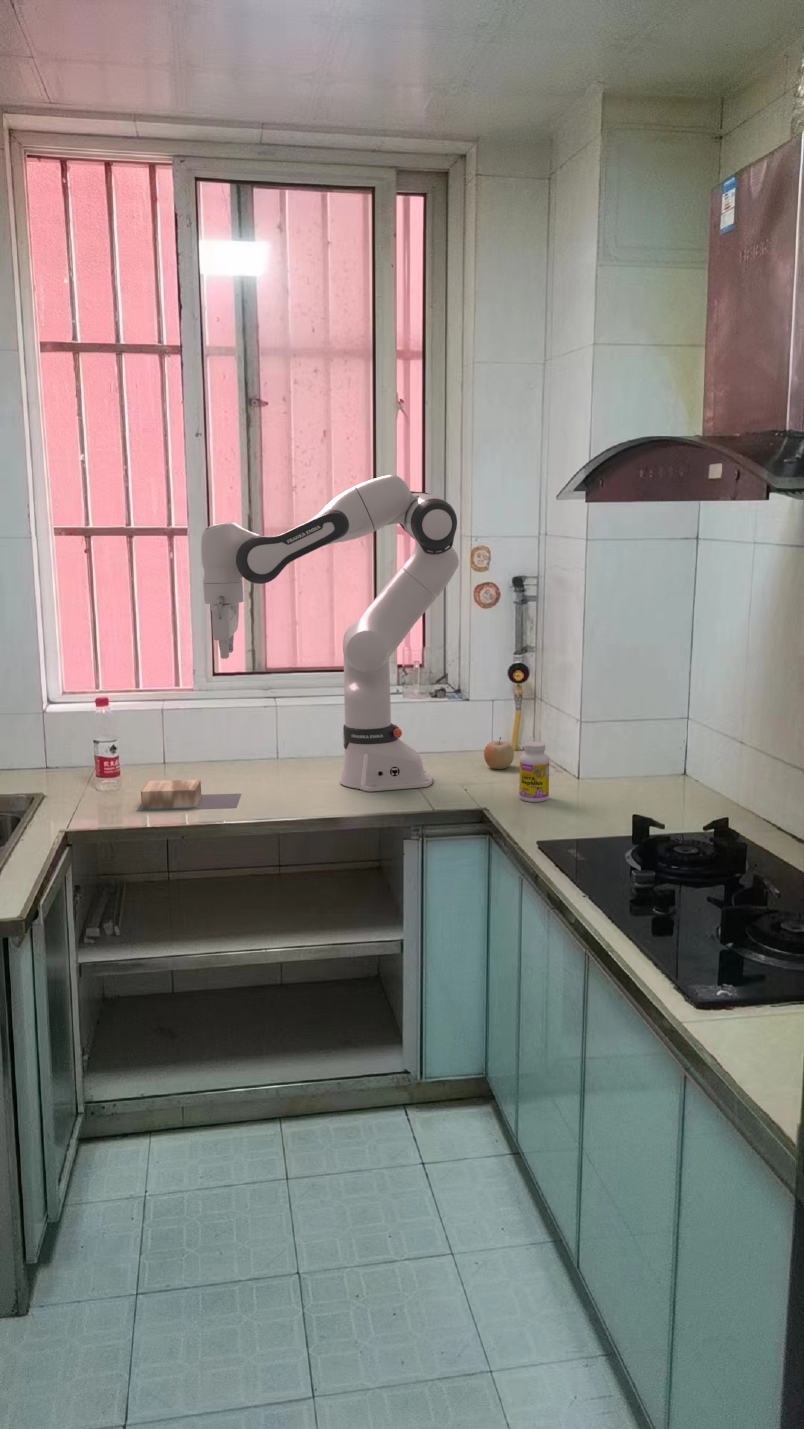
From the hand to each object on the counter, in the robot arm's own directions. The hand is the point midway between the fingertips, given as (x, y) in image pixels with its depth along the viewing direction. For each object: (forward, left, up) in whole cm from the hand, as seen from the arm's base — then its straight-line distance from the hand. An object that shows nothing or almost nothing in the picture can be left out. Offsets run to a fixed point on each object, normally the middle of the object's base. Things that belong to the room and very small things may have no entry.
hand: (227, 655), depth 245 cm
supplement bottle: (-69, +13, -33) cm, 78 cm away
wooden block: (+7, +9, -30) cm, 32 cm away
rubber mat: (+8, +9, -33) cm, 35 cm away
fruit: (-65, -16, -33) cm, 75 cm away
